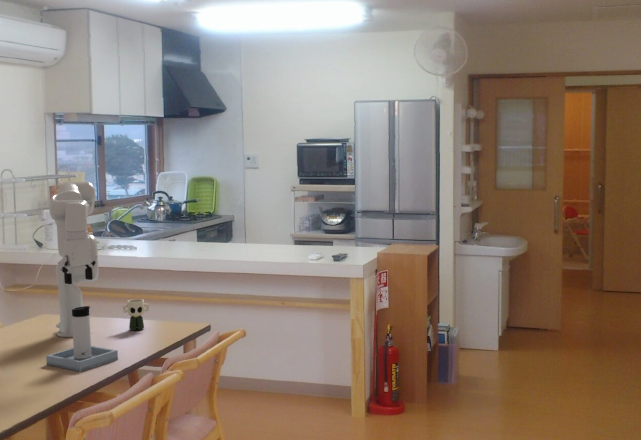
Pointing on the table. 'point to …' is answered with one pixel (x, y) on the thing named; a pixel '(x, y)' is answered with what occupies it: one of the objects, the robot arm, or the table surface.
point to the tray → (67, 360)
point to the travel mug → (81, 333)
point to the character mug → (136, 313)
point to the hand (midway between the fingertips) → (78, 281)
